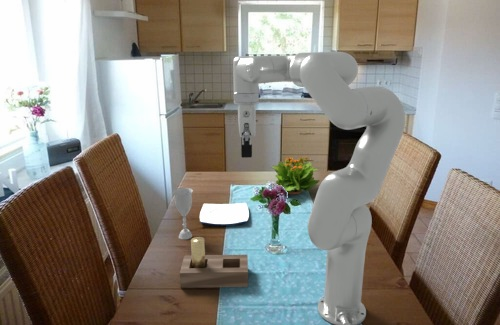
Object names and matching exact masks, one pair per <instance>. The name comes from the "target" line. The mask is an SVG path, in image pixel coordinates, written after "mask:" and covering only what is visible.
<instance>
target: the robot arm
mask: <svg viewBox="0 0 500 325" xmlns="http://www.w3.org/2000/svg"><path fill="white" fill-rule="evenodd" d="M232 64H233V68H232V72H233V76H232V77H233V78H232V79H233V104H234V105H237V122H238V132H239V137H241V138H240V140H241V142H240V143H241V145H240V146H241V148H240V149H241V150H240V151H241V152H240V154H241V158H253V144H252V137H253V138H255V137H256V134H257V133H256V125H257V124H256V122H257V121H256V119H257V117H256V116H257V115H256V113H257V111H256V105H258V104H259V100H260V99H259V97H260V96H259V89H260V88H259V87H260V86H259V84H267V83H268V84H269V83H280V82H281V83H285V82H287V83H293V84H294V85H295V86H297V87H299V88H304V89H305V90H306V91H307V93H308V95H309V96H310V97H311V98H312V100H313V101H314V102H315V103H316V105H317V106H318V108H320V110H321V111H322V113H323V114H324V115H325V116H326V118H327V119H328V120H329V121H330V122H331V124H333V125H334V127H335V126H336V127H337V128H339V129H342V130H347V131H349V130H356V129H360V128H363V127H365V128H366V129H364V132H363V134H362V135H361V137H360V138H359V140H358V141H357V143H356V145H355V148H354V150H353V152H352V153H353V154H352V156H351V159H350V160H349V163H348V164H347V165H346V167H344V168H341V169H337V170H336V171H333V172H331V173H329V174H328V175H326V176H325V178H324V179H322V181H321V183H320V184H319V186H318V189H317V191H316V195H315V198H314V201H313V205H312V207H311V211H310V214H309V217H308V220H307V221H308V222H307V232H308V233H307V234H308V237H309V240H310V242H311V243H312V244H313V245H314V246H315V248H317V249H319V250H322V251H326V260H325V261H326V263H325V264H326V265H325V278H324V279H325V281H324V295H323V297H322V298H320V299H319V300H318V303H317V311H318V313H319V315H320V317H321V318H323V319H324V320H325V321H326V322H328V323H330V324H333V325H360V324H361V323H363V322H364V320H365V319H366V316H367V309H366V307H365V305H364V303H362V293H363V292H362V291H363V283H364V282H363V280H364V270H365V261H366V260H365V259H366V251H367V244H368V241H369V236H370V233H371V230H372V224H373V222H372V220H373V219H372V214H371V211H370V209H369V207H368V205H367V204H369V203H371V202H373V201H375V199H376V198H377V197H378V196H379V194H380V192H381V189H382V187H383V184H384V182H385V179H386V177H387V174H388V171H389V169H390V166H391V163H392V162H393V159H394V155H395V154H396V151H397V149H398V146H399V144H400V142H401V140H402V137H403V134H404V131H405V126H406V125H405V124H406V114H405V109H404V107H403V104H402V102H401V100H400V98H399V97H398V96H397V94H395V92H393V91H391V90H390V89H388V88H386V87H382V86H364V87H358V88H351V87H350V86H349V85H351V84H352V83H354V81H355V80H356V78H357V76H358V72H359V66H358V62H357V60H356V59H355V57H354V56H352V55H351V54H349V53H347V52H345V51H317V52H315V51H314V52H311V51H310V52H299V53H297V54H295V55H294V54H293V55H292V54H291V55H290V54H289V55H286V54H283V55H274V54H273V55H256V56H255V55H254V56H253V55H241V56H240V55H237V56H235V57H234V58H233V62H232Z"/></svg>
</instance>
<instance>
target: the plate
mask: <svg viewBox="0 0 500 325" xmlns="http://www.w3.org/2000/svg"><path fill="white" fill-rule="evenodd" d="M249 211H250V210H249V207H248V205H247V203H246V202H241V203H240V202H239V203H238V202H237V203H222V204H221V203H203V204H202V207H201V210H200V212H199V222H200V224H202V225H209V226H219V225H220V227H221V226H223V227H224V226H226V227H227V226H235V225H242V224H243V225H244V224H245V223H247V222H248V220H249V219H250V212H249Z"/></svg>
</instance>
